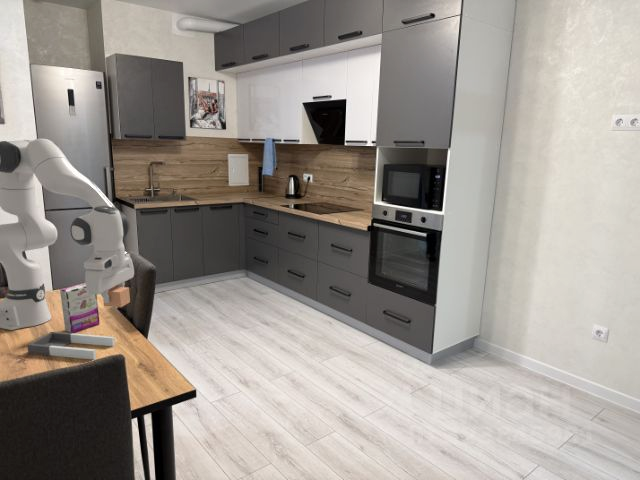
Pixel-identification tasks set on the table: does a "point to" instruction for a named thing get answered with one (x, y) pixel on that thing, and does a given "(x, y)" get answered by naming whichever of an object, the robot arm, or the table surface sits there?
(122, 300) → the block
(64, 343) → the bin
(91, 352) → the channel
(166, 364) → the table surface
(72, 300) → the candy bar box
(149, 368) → the table surface
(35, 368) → the table surface
